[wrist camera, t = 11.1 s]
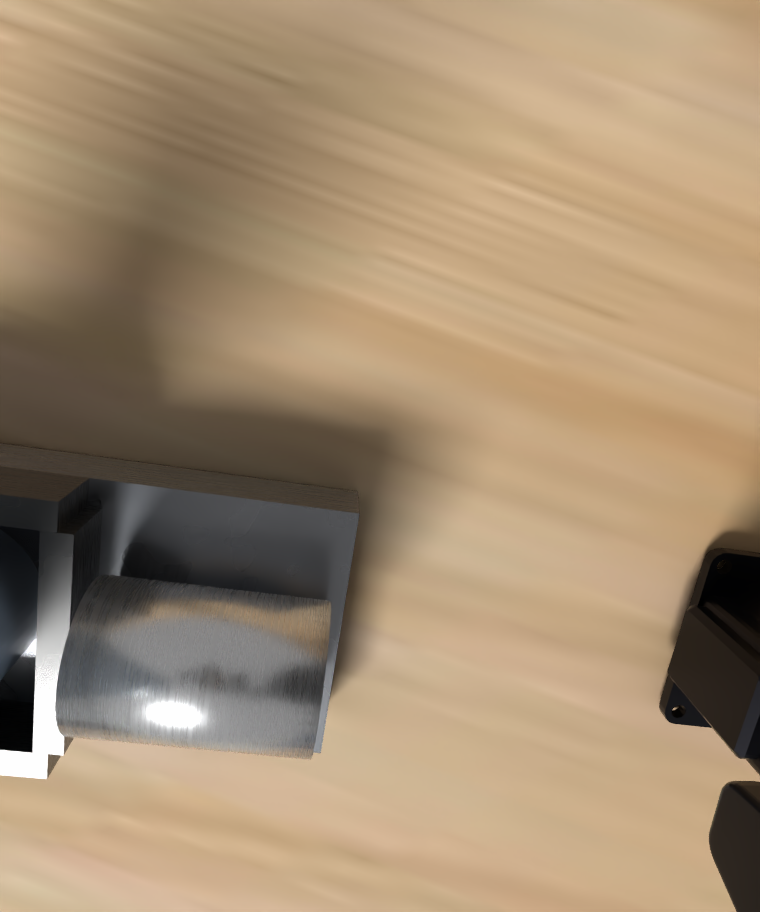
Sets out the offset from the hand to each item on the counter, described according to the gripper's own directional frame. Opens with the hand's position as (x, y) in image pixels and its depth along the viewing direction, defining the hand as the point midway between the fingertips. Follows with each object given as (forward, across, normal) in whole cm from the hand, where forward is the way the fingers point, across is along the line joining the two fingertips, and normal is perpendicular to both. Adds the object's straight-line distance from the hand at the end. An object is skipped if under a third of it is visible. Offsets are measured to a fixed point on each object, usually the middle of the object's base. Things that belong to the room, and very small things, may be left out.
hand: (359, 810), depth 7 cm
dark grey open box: (+13, +7, +4) cm, 15 cm away
